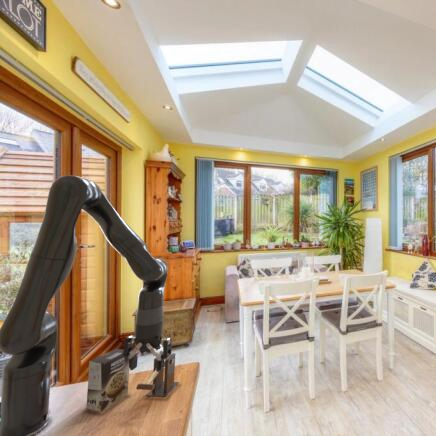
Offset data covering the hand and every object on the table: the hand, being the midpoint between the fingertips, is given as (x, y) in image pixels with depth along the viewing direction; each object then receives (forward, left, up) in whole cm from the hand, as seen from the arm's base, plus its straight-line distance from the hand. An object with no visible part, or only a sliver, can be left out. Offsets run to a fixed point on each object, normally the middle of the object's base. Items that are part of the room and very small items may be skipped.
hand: (146, 369), depth 84 cm
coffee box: (-14, +2, -14) cm, 20 cm away
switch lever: (0, +5, -5) cm, 7 cm away
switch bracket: (0, +9, -13) cm, 16 cm away
